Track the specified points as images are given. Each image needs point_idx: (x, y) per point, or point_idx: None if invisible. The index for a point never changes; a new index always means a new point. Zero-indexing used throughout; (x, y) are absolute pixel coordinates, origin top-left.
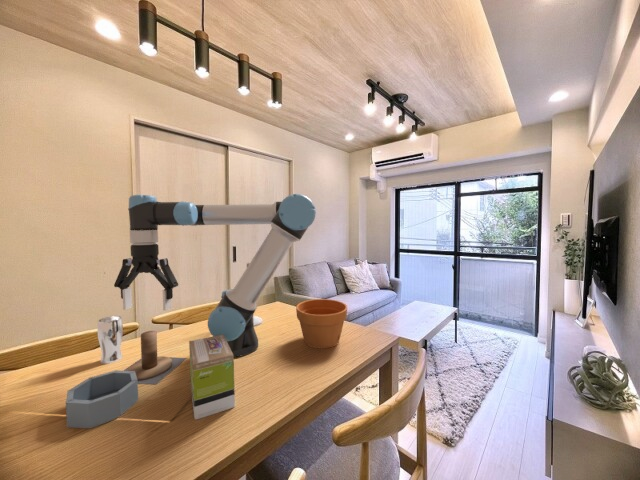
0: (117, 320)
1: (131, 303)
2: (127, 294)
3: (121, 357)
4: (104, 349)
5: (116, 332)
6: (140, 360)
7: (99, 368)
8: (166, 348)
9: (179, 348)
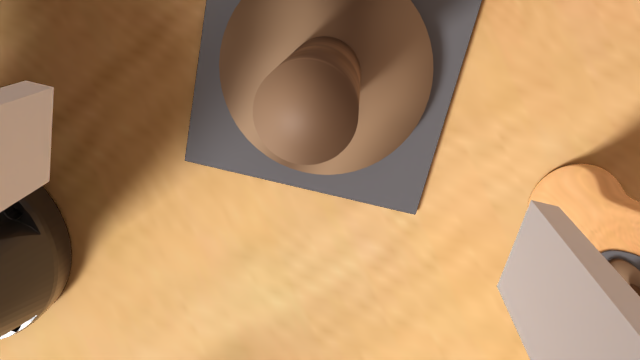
0: None
1: (511, 305)
2: (586, 344)
3: None
4: (625, 196)
5: None
6: (416, 171)
7: (598, 129)
8: (342, 290)
9: (275, 279)
